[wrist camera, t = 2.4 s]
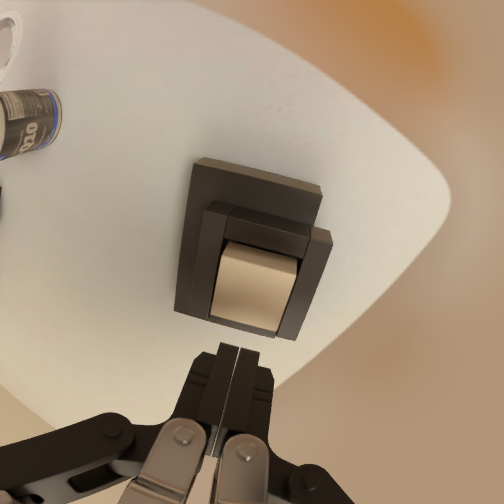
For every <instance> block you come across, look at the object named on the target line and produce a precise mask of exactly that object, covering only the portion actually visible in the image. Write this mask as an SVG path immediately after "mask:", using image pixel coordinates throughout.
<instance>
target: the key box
mask: <svg viewBox="0 0 504 504" xmlns="http://www.w3.org/2000/svg"><path fill="white" fill-rule="evenodd" d="M322 197H323V196H322V192H321V189H320V186H317V185H314V184H310V183H307V182H303V181H299V180H296V179H292V178H288V177H285V176H281V175H277V174H273V173H269V172H265V171H261V170H257V169H253V168H249V167H245V166H241V165H236V164H232V163H228V162H223V161H219V160H214V159H210V158H203V159H201V160H199V161H198V162H196V163H194V164H193V170H192V176H191V182H190V188H189V194H188V201H187V207H186V214H185V221H184V228H183V235H182V243H181V250H180V258H179V267H178V275H177V285H176V294H175V304H174V311H176V312H179V313H182V314H186V315H189V316H192V317H196V318H199V319H203V320H206V321H210V322H213V323H217V324H220V325H224V326H228V327H231V328H235V329H239V330H242V331H246V332H250V333H254V334H258V335H262V336H266V337H270V338H275V335H276V337H280V338H284V339H288V340H293V341H295V340H296V338H297V336H298V333H299V331H300V329H301V326H302V324H303V321H304V319H305V317H306V314H307V312H308V309H309V307H310V304H311V302H312V299H313V297H314V294H315V292H316V289H317V287H318V284H319V281H320V279H321V276H322V274H323V271H324V268H325V266H326V263H327V260H328V258H329V255H330V252H331V249H332V247H333V241H332V237H331V234H330V231H328V230H325V229H321V228H318V227H314V226H313V225H314V222H315V219H316V216H317V213H318V210H319V206H320V203H321V200H322ZM228 242H234V243H238V244H242V245H246V246H249V247H253V248H257V249H261V250H265V251H268V252H272V253H276V254H280V255H283V256H287V257H291V258H295V259H297V271H296V279H295V282H294V284H293V287H292V290H291V293H290V296H289V299H288V302H287V304H286V307H285V310H284V313H283V315H282V318H281V321H280V324H279V327H278V329H277V331H276V332H275V331H271V330H267V329H263V328H259V327H255V326H251V325H247V324H244V323H240V322H236V321H232V320H229V319H225V318H221V317H218V316H214V315H211V307H212V302H213V297H214V291H215V286H216V281H217V276H218V271H219V266H220V261H221V256H222V254H223V252H224V250H225V248H226V246H227V244H228Z"/></svg>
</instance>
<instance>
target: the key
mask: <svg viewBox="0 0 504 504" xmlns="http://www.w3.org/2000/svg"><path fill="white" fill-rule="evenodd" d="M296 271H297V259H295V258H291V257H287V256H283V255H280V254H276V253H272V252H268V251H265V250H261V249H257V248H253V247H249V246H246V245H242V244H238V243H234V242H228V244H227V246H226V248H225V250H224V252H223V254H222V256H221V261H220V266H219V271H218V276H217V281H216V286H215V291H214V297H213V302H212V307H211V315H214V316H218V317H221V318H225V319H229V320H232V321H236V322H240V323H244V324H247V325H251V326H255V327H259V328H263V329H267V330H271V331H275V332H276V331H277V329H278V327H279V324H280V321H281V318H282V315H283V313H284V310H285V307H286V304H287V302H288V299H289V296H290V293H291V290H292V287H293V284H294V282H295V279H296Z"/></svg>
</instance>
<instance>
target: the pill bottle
mask: <svg viewBox="0 0 504 504" xmlns="http://www.w3.org/2000/svg"><path fill="white" fill-rule="evenodd" d="M60 124H61V107H60V103H59V100H58V98H57V97H56V95H55V94H54V93H53V92H52V91H50V90H47V89H32V90H18V91H6V92H0V161H1V160H4V159H7V158H10V157H13V156H16V155H20V154H23V153H26V152H30V151H33V150H37V149H41V148H43V147H45V146H47V145H49V144H50V143H51V142H52V141H53V139H54V138H55V137H56V135H57V133H58V131H59V127H60Z"/></svg>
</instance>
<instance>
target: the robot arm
mask: <svg viewBox="0 0 504 504" xmlns="http://www.w3.org/2000/svg"><path fill="white" fill-rule="evenodd" d="M238 350H239V347H237V346H233V345H229V344H225V343H222V342H220V345H219V348H218V351H217V354H216V355H214V354H210V353H206V352H202V353H201V354H200V355H199V356H198V357H196V358H195V359H194V361H193V363H192V366H191V368H190V371H189V373H188V376H187V379H186V381H185V384H184V386H183V389H182V391H181V394H180V396H179V399H178V401H177V404H176V407H175V409H174V412H173V414H172V415H171V417H170V418H169V419H168V420H167V421H165V422H163V423H161V424H158V425H136V424H131V422H130V421H129V420H128V419H127V418H126V417H124V416H123V415H120V414H118V413H112V412H108V413H103V414H100V415H97V416H95V417H92V418H89V419H87V420H84V421H81V422H78V423H75V424H73V425H70V426H67V427H64V428H61V429H58V430H55V431H52V432H49V433H46V434H43V435H39V436H36V437H33V438H30V439H27V440H23V441H20V442H16V443H13V444H9V445H6V446H1V447H0V504H67V503H70V502H73V501H75V500H78V499H81V498H84V497H87V496H89V495H92V494H94V493H97V492H100V491H102V490H104V489H107V488H109V487H112V486H114V485H116V484H119V483H121V482H123V481H126V480H128V479H130V478H132V477H135V478H133V479H132V480H131V481H130V482H129V483H128V485H127V487H126V489H125V490H124V492H123V494H122V496H121V498H120V500H119V502H118V504H186V502H187V499H188V497H189V494H190V492H191V489H192V487H193V484H194V481H195V479H196V476H197V474H198V473H199V471H200V469H201V466H202V463H203V459H204V456H205V455H208V456H210V455H211V452H212V449H213V445H214V442H215V439H216V436H217V439H216V443H215V447H214V451H213V455H212V456H213V457H216V458H218V460H217V464H216V468H215V471H214V474H213V478H212V484H211V491H210V498H209V504H355V503H353V501H352V500H351V499H350V498H349V497H348V496H347V494H346V493H345V492H344V491H343V490H342V489H341V487H340V486H339V485H338V484H337V483H336V482H335V480H334V479H333V478H332V477H331V476H330V475H329V473H328V472H327V471H326V470H325V469H324V468H322V467H320V466H318V465H314V464H304V465H301V466H296V465H294V464H291V463H289V462H287V461H285V460H283V459H281V458H279V457H278V456H277V455H276V454H275V453H274V452H273V451H272V450H271V448H270V446H269V444H268V430H269V423H270V414H271V406H272V397H273V388H274V378H273V375H272V373H271V370H270V369H269V368H265V367H260V366H258V361H259V355H260V352H257V351H253V350H249V349H245V348H241V349H240V352H239V356H238V359H237V362H236V358H237V354H238ZM235 362H236V366H235ZM234 366H235V369H234ZM233 370H234V373H233ZM232 374H233V376H232ZM231 378H232V380H231ZM230 382H231V384H230ZM229 386H230V388H229ZM228 390H229V392H228ZM227 394H228V396H227ZM226 398H227V400H226ZM225 402H226V404H225ZM224 406H225V408H224ZM223 410H224V412H223ZM222 414H223V416H222ZM221 418H222V419H221ZM220 422H221V423H220ZM219 426H220V427H219ZM218 429H219V431H218ZM217 433H218V435H217Z"/></svg>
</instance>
